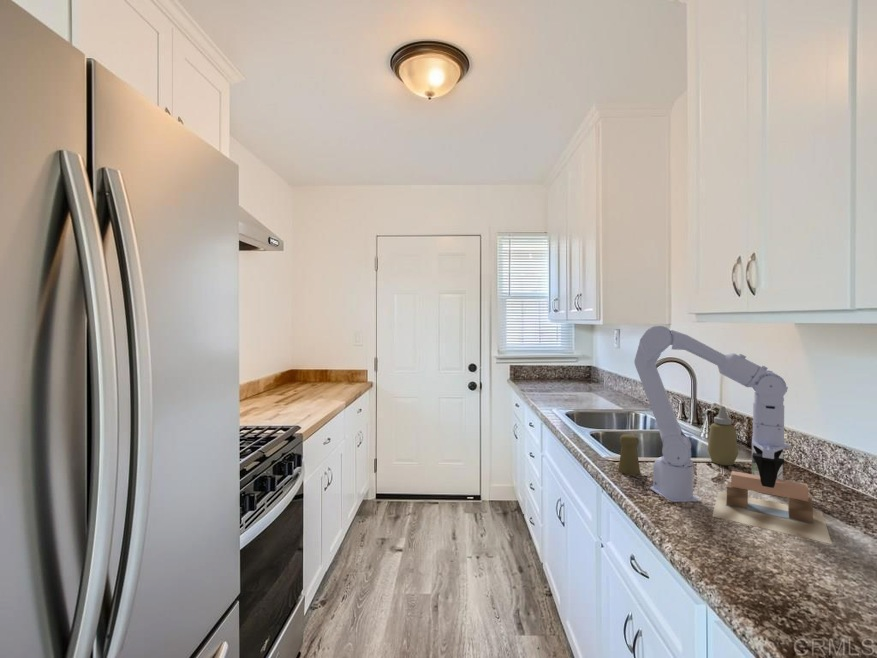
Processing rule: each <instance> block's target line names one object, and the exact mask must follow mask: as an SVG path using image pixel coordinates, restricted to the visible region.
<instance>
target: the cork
mask: <svg viewBox="0 0 877 658" xmlns="http://www.w3.org/2000/svg"><path fill="white" fill-rule="evenodd" d="M619 442H620V445H621V448H620V449H621V450H620V456H619V462H618V468H617V469H618V472H619V473H620V474H625V475H628V476H629V475H630V476H636V475H637V476H638V475H640V474H641V468H640V462H639V456H638V454H639V453H638V446H639V438H638V437H637V436H636V435H634V434H629V433H627V434H626V433H624V434H622V435H620V437H619Z"/></svg>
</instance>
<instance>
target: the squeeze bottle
mask: <svg viewBox="0 0 877 658" xmlns="http://www.w3.org/2000/svg"><path fill="white" fill-rule="evenodd" d="M732 421H733V420H732V418H730V417H728V414H727V409H726V407H725V406H720V407H719V410H718V414H717V416H714V417H713V423H711V424H710V426H709V435H708V443H707V451H708V456H709V458H710V460H711V462H712V463H714V464H717V465H720V466H734V464H735V462H736V460H737V458H738V455H739V450H738V440H737V431H736V427H735V426H734V425H732V424H733V423H732Z"/></svg>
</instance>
